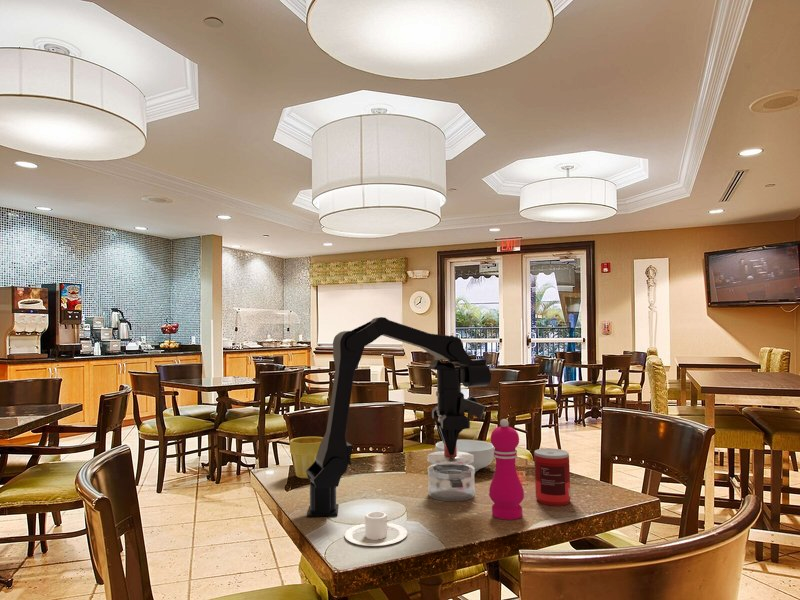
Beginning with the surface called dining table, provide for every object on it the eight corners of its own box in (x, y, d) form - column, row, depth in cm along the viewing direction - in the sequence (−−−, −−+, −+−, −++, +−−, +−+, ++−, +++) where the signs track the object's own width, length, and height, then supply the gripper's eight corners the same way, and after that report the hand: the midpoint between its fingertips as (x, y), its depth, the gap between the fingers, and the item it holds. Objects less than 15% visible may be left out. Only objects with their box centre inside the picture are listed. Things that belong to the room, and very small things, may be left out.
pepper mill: (499, 522, 108) (496, 422, 109) (484, 511, 115) (481, 417, 116) (531, 518, 110) (527, 420, 111) (514, 507, 117) (511, 415, 118)
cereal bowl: (484, 480, 140) (484, 452, 140) (426, 474, 147) (426, 448, 147) (501, 465, 155) (501, 440, 155) (448, 460, 162) (447, 437, 163)
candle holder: (339, 530, 106) (338, 508, 106) (396, 523, 110) (396, 501, 110) (352, 553, 94) (352, 528, 95) (416, 544, 98) (415, 520, 98)
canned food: (555, 494, 126) (554, 447, 127) (578, 503, 119) (576, 453, 120) (528, 498, 124) (527, 450, 124) (550, 508, 116) (548, 456, 117)
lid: (478, 468, 123) (478, 440, 123) (430, 470, 122) (430, 442, 122) (468, 457, 134) (468, 432, 134) (424, 459, 133) (424, 433, 133)
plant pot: (331, 470, 152) (331, 436, 153) (322, 480, 142) (322, 443, 142) (296, 470, 153) (295, 436, 154) (284, 480, 143) (284, 443, 143)
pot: (482, 503, 120) (481, 475, 120) (433, 505, 119) (433, 477, 119) (467, 484, 136) (466, 459, 136) (424, 485, 135) (424, 461, 135)
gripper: (491, 391, 120) (492, 461, 119) (473, 384, 139) (474, 444, 138) (442, 392, 120) (443, 462, 119) (431, 384, 138) (432, 445, 137)
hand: (450, 453), depth 128 cm, fingers closed on lid, 3 cm apart
